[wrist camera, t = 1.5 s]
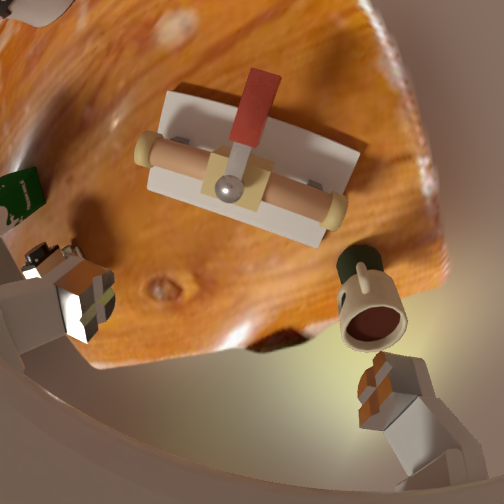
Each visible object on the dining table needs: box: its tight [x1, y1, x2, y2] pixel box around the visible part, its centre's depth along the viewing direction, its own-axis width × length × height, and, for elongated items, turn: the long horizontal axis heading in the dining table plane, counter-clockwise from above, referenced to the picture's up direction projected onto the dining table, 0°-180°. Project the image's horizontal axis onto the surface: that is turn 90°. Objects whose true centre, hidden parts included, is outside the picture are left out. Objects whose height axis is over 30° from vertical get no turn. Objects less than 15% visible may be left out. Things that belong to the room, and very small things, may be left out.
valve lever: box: [215, 68, 282, 203], centre depth 24 cm, size 12×3×2 cm, turn 162°
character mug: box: [336, 245, 408, 353], centre depth 33 cm, size 11×7×13 cm, turn 23°
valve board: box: [134, 91, 360, 249], centre depth 31 cm, size 13×23×8 cm, turn 72°
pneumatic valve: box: [21, 242, 85, 279], centre depth 41 cm, size 6×12×12 cm, turn 16°
